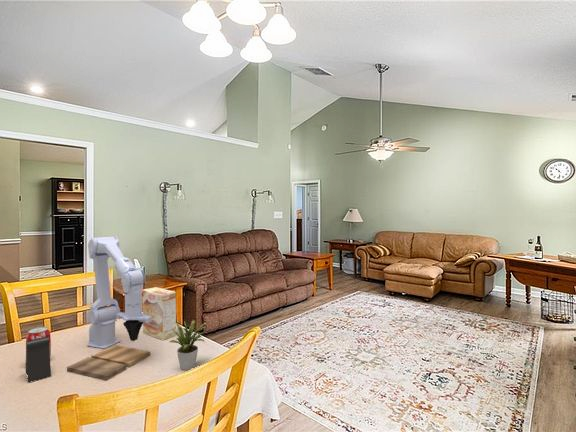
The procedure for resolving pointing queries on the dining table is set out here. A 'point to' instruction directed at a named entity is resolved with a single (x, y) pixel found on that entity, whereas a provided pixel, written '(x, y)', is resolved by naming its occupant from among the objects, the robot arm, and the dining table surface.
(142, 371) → the dining table surface
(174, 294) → the coffeecake box
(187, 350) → the house plant
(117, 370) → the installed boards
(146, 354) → the teak plank
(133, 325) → the robot arm
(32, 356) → the phone stand
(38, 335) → the soda can
